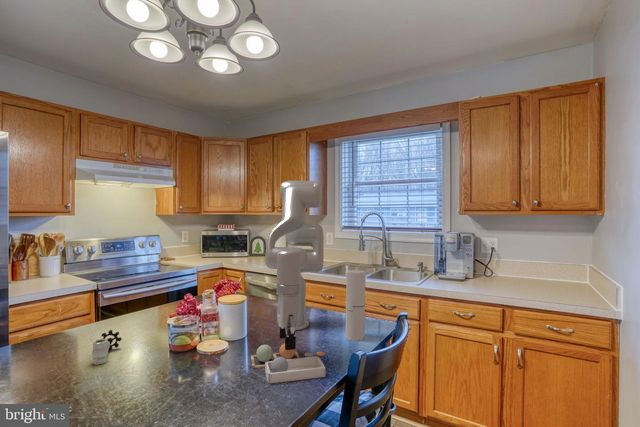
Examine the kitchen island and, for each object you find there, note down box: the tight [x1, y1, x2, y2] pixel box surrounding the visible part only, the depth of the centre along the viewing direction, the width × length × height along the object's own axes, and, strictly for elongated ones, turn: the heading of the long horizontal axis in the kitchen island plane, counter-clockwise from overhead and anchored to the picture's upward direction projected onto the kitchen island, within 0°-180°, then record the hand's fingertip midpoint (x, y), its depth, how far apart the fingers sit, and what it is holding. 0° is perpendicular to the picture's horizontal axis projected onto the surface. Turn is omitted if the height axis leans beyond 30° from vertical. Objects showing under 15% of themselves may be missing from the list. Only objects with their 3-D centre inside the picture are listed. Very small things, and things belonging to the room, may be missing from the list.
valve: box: [91, 329, 122, 366], centre depth 105 cm, size 7×7×12 cm
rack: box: [250, 350, 301, 369], centre depth 104 cm, size 8×15×1 cm, turn 106°
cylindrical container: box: [344, 269, 367, 342], centre depth 126 cm, size 7×7×25 cm
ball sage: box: [255, 344, 274, 363], centre depth 103 cm, size 5×5×5 cm
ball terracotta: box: [278, 342, 296, 360], centre depth 105 cm, size 5×5×5 cm
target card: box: [304, 351, 326, 358], centre depth 109 cm, size 6×9×1 cm, turn 106°
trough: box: [264, 355, 326, 385], centre depth 96 cm, size 8×16×3 cm, turn 106°
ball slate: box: [271, 356, 288, 373], centre depth 95 cm, size 5×5×5 cm
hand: (287, 343), depth 105 cm, fingers open, 9 cm apart
